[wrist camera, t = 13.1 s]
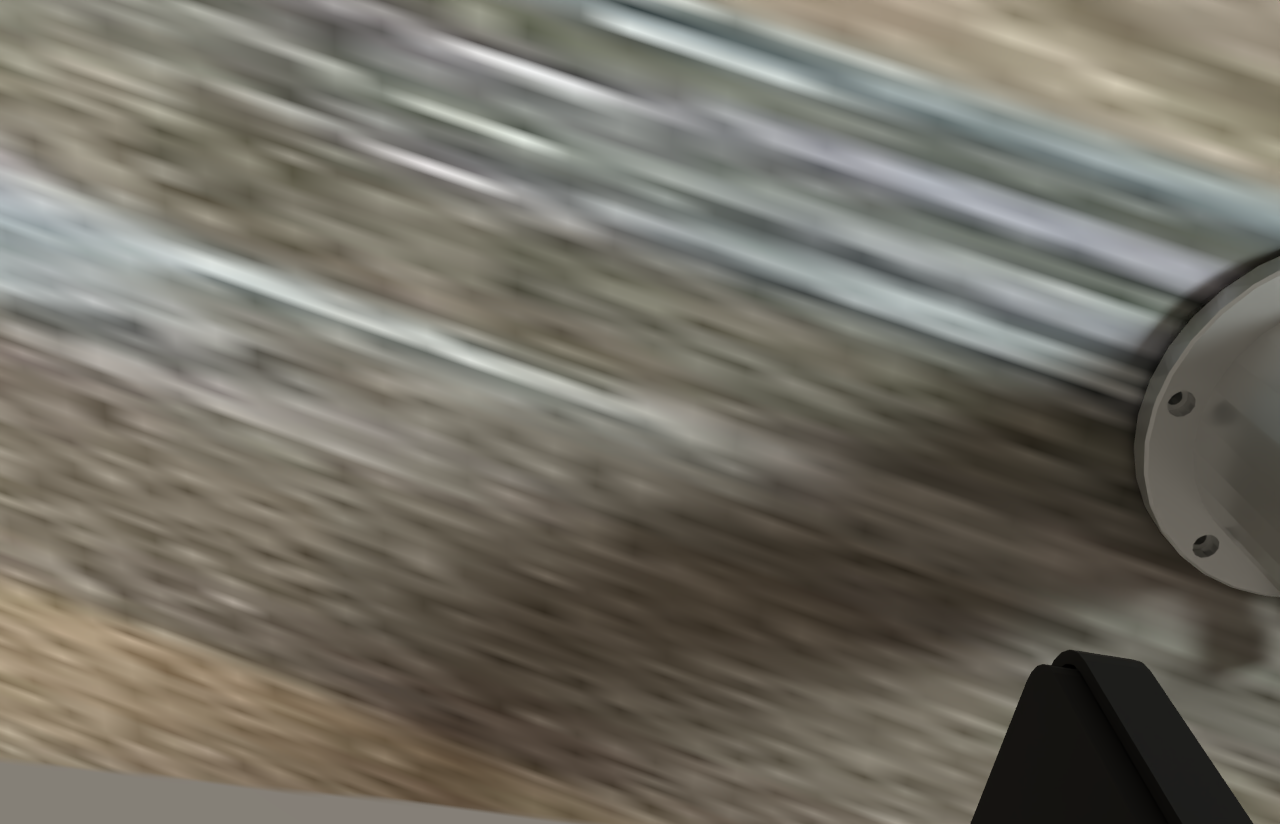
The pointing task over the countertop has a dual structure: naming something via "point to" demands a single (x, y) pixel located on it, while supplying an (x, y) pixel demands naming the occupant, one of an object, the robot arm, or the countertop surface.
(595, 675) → the countertop surface
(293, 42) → the countertop surface
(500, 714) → the countertop surface
